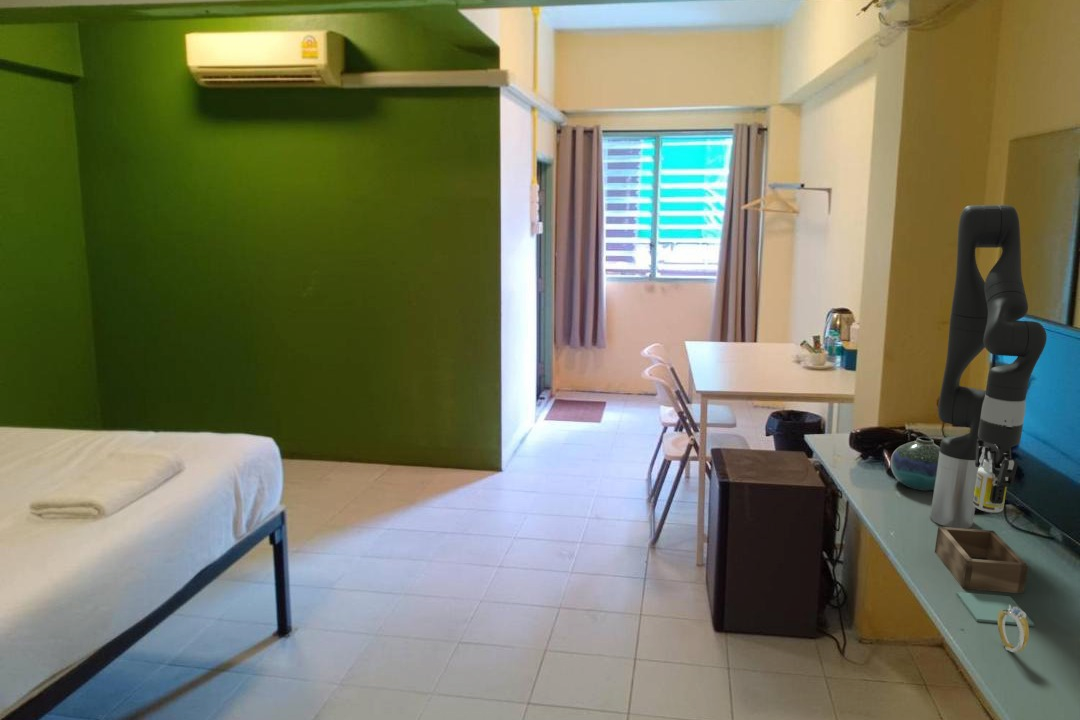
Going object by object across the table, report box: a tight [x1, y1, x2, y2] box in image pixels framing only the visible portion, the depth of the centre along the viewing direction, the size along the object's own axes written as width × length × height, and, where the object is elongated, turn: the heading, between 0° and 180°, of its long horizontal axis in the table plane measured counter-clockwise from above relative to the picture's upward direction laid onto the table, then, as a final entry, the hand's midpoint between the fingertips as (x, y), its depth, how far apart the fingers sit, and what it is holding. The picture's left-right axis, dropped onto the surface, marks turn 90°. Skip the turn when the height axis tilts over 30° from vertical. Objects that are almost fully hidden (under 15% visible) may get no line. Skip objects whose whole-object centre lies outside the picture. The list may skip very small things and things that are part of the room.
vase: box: [890, 436, 940, 491], centre depth 212 cm, size 15×15×13 cm
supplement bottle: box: [973, 459, 1008, 514], centre depth 162 cm, size 6×6×10 cm
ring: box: [997, 605, 1030, 653], centre depth 137 cm, size 7×3×8 cm, turn 175°
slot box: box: [934, 526, 1029, 594], centre depth 166 cm, size 16×11×6 cm
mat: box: [955, 591, 1035, 627], centre depth 151 cm, size 10×10×1 cm
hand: (989, 496), depth 163 cm, fingers closed on supplement bottle, 5 cm apart
